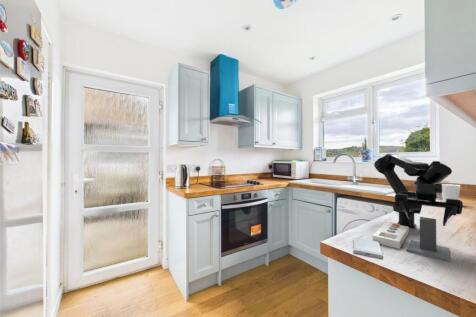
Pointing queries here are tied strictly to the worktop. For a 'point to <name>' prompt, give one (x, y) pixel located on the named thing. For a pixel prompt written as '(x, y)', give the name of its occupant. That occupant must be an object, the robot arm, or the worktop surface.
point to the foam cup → (450, 191)
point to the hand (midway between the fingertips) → (426, 222)
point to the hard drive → (367, 247)
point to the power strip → (391, 235)
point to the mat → (440, 252)
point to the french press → (440, 193)
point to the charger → (428, 234)
